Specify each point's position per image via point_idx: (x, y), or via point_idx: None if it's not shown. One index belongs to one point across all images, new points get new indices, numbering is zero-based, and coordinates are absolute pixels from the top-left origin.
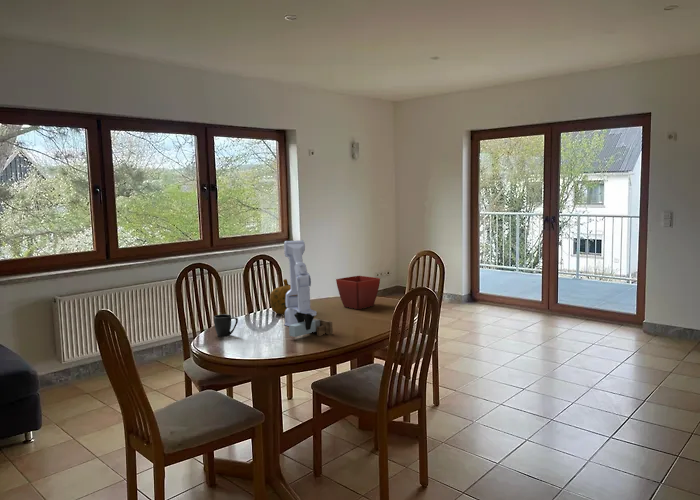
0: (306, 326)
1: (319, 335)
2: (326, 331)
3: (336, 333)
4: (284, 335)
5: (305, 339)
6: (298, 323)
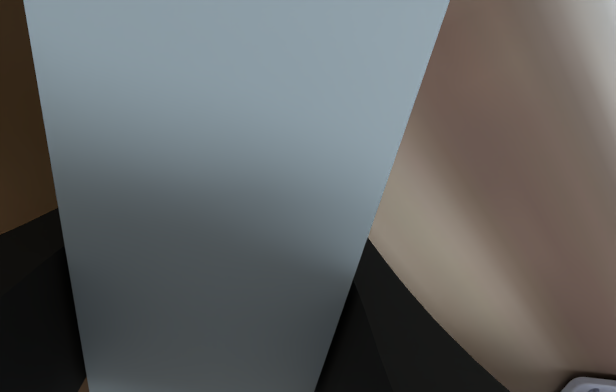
0: None
1: None
2: None
3: None
4: (608, 73)
5: None
6: (297, 194)
